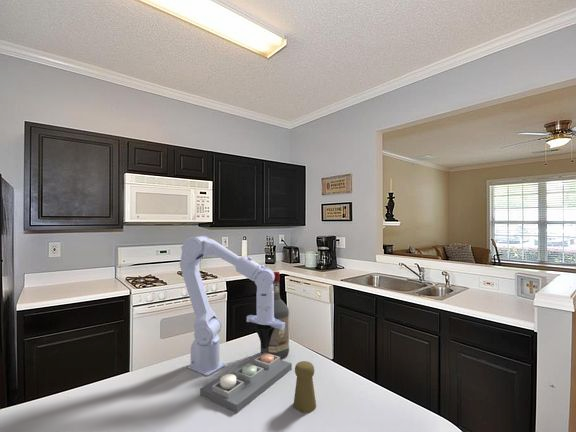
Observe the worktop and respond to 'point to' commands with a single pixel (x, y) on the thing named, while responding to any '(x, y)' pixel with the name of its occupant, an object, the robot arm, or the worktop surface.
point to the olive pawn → (304, 387)
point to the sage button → (249, 370)
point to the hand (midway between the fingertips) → (265, 347)
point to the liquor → (279, 337)
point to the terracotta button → (267, 358)
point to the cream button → (228, 381)
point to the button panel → (246, 383)
